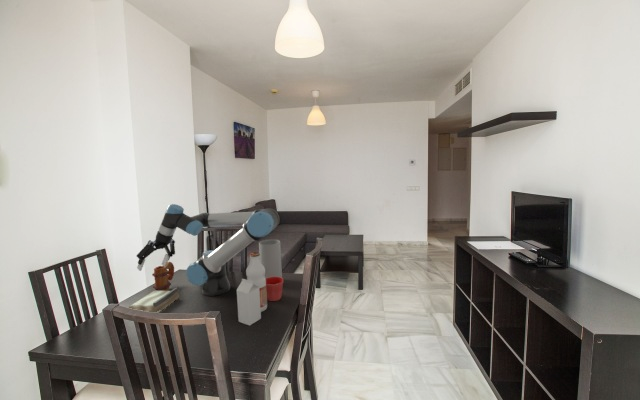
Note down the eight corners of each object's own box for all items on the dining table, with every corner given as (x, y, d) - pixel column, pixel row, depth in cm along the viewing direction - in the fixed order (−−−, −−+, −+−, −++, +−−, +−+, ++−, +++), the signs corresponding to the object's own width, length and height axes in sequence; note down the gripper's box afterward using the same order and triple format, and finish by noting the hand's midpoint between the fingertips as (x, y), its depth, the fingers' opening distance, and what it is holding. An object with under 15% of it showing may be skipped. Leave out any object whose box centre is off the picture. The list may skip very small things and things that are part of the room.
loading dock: (178, 298, 157) (177, 287, 156) (156, 315, 139) (155, 303, 139) (154, 297, 159) (153, 287, 158) (129, 314, 141) (128, 302, 140)
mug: (162, 295, 162) (160, 269, 160) (150, 294, 163) (147, 268, 162) (180, 284, 176) (178, 260, 174) (168, 283, 178) (166, 260, 176)
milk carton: (249, 326, 127) (247, 284, 125) (238, 321, 131) (235, 281, 129) (261, 318, 133) (259, 278, 131) (250, 314, 137) (247, 276, 135)
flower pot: (288, 295, 157) (287, 277, 156) (276, 304, 147) (276, 285, 146) (271, 292, 161) (270, 275, 160) (259, 300, 151) (258, 282, 150)
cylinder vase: (256, 285, 171) (254, 244, 169) (268, 277, 183) (266, 238, 180) (275, 288, 167) (273, 245, 164) (285, 280, 178) (284, 240, 175)
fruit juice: (270, 308, 142) (268, 253, 139) (253, 315, 136) (249, 257, 133) (261, 302, 149) (258, 249, 146) (244, 308, 144) (241, 253, 140)
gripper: (182, 228, 164) (168, 260, 167) (138, 229, 141) (123, 266, 145) (190, 234, 161) (176, 267, 164) (146, 237, 138) (131, 275, 142)
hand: (151, 267), depth 154 cm, fingers open, 13 cm apart
